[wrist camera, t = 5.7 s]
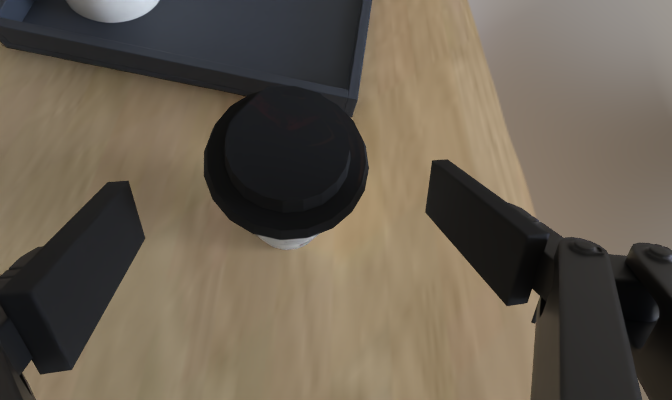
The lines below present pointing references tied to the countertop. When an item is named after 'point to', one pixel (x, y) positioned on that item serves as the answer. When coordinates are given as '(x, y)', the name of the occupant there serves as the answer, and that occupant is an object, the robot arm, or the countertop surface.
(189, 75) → the cup tray
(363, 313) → the countertop surface
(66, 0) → the cream cup
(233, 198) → the coffee cup
